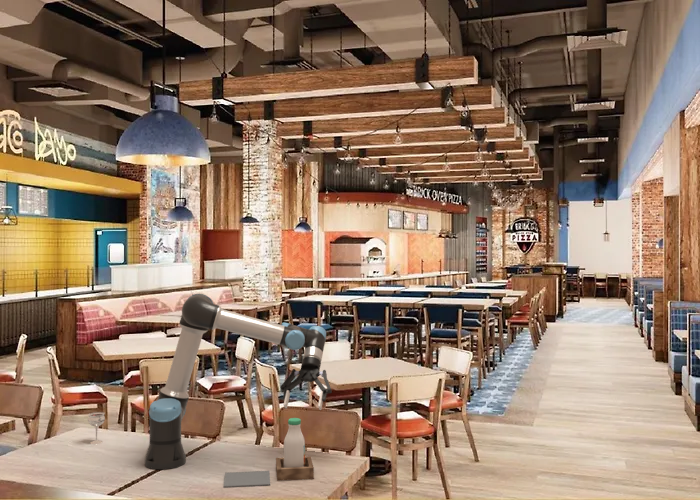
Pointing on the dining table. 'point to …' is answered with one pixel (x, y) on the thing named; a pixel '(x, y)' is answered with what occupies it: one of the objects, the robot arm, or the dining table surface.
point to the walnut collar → (294, 470)
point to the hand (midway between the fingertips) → (302, 407)
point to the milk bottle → (294, 445)
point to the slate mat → (247, 479)
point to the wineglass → (96, 422)
